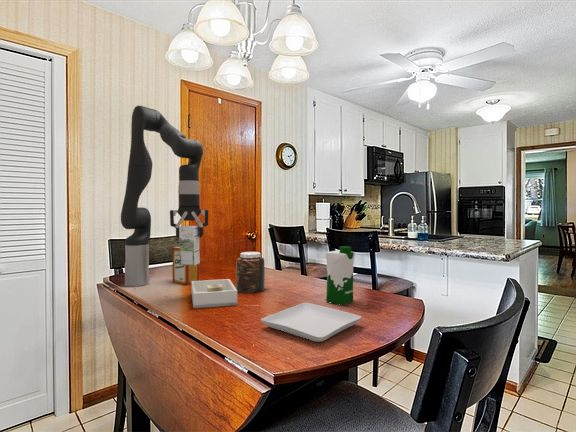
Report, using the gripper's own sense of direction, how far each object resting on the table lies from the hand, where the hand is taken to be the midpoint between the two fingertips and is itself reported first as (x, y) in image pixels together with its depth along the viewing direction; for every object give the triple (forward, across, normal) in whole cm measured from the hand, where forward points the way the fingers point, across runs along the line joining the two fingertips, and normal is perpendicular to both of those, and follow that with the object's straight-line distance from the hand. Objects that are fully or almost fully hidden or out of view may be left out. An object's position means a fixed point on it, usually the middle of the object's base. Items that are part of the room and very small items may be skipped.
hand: (189, 237), depth 129 cm
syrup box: (+10, 0, 0) cm, 10 cm away
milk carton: (+23, -51, +21) cm, 60 cm away
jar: (+23, -24, -6) cm, 33 cm away
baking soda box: (+22, +2, -26) cm, 35 cm away
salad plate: (+24, -32, +42) cm, 58 cm away
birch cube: (+21, -8, +10) cm, 25 cm away
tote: (+22, -8, +5) cm, 24 cm away
